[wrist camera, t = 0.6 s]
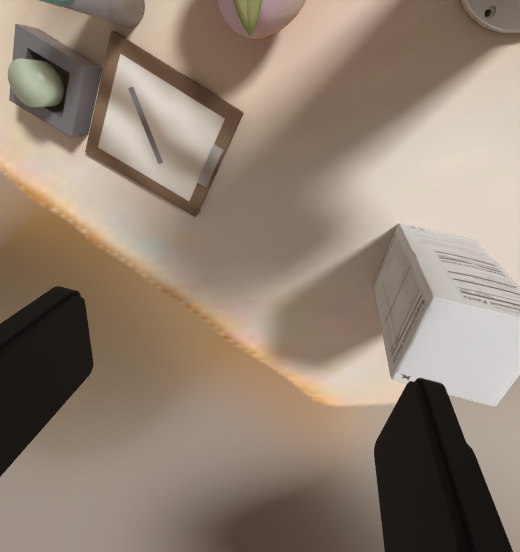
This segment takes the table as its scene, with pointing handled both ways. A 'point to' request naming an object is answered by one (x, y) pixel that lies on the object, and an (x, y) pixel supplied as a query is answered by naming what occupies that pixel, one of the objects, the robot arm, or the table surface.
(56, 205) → the table surface
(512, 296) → the supplement box
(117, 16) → the marker
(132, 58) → the clipboard
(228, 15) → the decorative fruit
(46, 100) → the button
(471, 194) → the table surface
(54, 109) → the button housing
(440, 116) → the table surface
